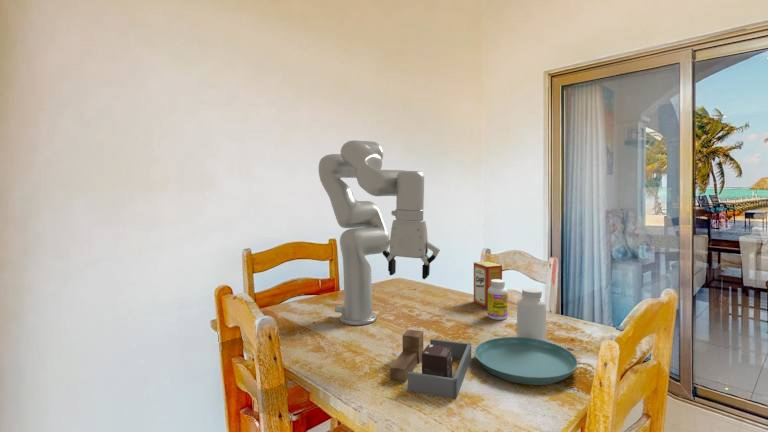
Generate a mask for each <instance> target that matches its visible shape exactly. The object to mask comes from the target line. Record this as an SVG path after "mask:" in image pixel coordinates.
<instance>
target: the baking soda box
mask: <svg viewBox="0 0 768 432" xmlns="http://www.w3.org/2000/svg"><path fill="white" fill-rule="evenodd" d="M493 279H501V280H503V265H502V264H498V263H495V262H491V261H476V262H473V303H475V304H477V305H479V306H481V307H483V308H485V309H488V289H489V288H490V287H491V286H492V285H491V280H493Z"/></svg>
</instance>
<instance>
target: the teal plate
mask: <svg viewBox="0 0 768 432" xmlns="http://www.w3.org/2000/svg"><path fill="white" fill-rule="evenodd" d="M474 355H475V357H476V359H477V361H478V363H479V364H480V365H481V366H482V367H483V368H484V369H485V370H486V371H487V372H489V373H491V375H493V376H496V377H497V378H499V379H502V380H504V381H508V382H512V383H515V384H516V383H517V384H523V385H532V386H543V385H550V384H551V385H552V384H555V383H557V382H561V381H563V380H565V379H567V378H568V377H569V376H571V375H573V373H574V372H575V370H576V368H577V367H578V363H579V362H578V358H577V356H575V354H574V353H573V352H571V351H570V350H569V349H567V348H565V347H564V346H563V347H562V346H561V345H558V344H556V343H552V342H550V341H547V340H546V341H543V340H538V339H532V338H523V337H517V336H507V337H506V336H505V337H497V338H492V339H488V340H485V341H483V342H480V343H479V344H478V345H477V346H476V347H475V350H474Z"/></svg>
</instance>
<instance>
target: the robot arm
mask: <svg viewBox="0 0 768 432" xmlns="http://www.w3.org/2000/svg"><path fill="white" fill-rule="evenodd" d="M383 159H384V151H383V147H382V146H381V145H380V144H379V143H377V141H376V142H375V141H371V140H348V141H347V142H345V143H344V144H343V145H342V146H341V147H340V153H331V154H326V155H324V156H323V157H322V158H320V160H319V163H318V176H319V180H320V183H321V185H322V186H323V188H324V190H325V192H326V194H327V196H328V197H329V201H330V204H331V207H332V210H333V213H334V216H335V219H336V222H337V224H338V226H339V227H341V228H342V229H346V230H344V231H343V232H342V233H341V234H340V236H339V237H340V238H339V245H340V250H341V256H342V267H343V269H342V270H343V297H344V299H343V301H344V303H343V304H344V305H340V304H338V305H337V304H336V305H335V306H334V312H335V313H340V314H341V315H340V317H339V320H340V322H341V323H343V324H346V325H350V326H361V325H363V326H364V325H369V324H372V323H374V322H376V320H377V319H378V317H377V315H378V314H376V313H374V312H373V301H372V300H373V297H372V296H373V294H372V293H373V291H372V289H373V288H372V283H373V281H372V267H371V264H370V262H368V260H367V259H366V256H369V255H377V254H382V255H383V256H384V258H385V259H386V261H387V263H388V266H387V268H388V269H387V270H388V273H389V274H388V275H389V276H393V275H395V274H396V269H397V268H396V266H397V265H396V264H397V263H396V262H397V260H396V259H395V258H396V257H398V258H399V257H402V258H410V259H411V258H412V259H420V260H421V261H422V262H423V264H422V266H421V267H422V272H421V273H422V275H421V277H422V280H426V279H427V278H428V277H429V276H430V270H431V269H430V268H431V265H430V264H431V263H432V262H433V261H435V260H436V259H437V257H438V255H439V253H440V251H441V249H440V248H439V247H437V246H435V245H434V244H432V243H430V242H429V240H428V229H427V228H428V227H427V224H426V223H427V222H426V220H424V206H425V205H424V201H425V200H424V199H425V198H424V197H425V174H424V173H423V172H422V171H418V170H403V169H382V167H383ZM343 178H344V179H345V178H346V179H349V178H351V179H353V178H354V179H356V181H357V184H358V186H359V187H360V188H361V189H362V190H364V192H366V193H367V194H369V195H371V196H373V197H390V196H391V197H396V198H395V199H396V204H395V205H396V209H395V210H391V216H394V217H395V219H393V221H392V224H391V228H390V229H391V231H390V235H389V232H388V229H387V226H386V224H385V221H384V218H383V216H382V213H381V211H380V209H379V207H378V205H377V204H376V203H374V202H373V201H370V200H357V199H356V198H355V196H354V192H353V190H352V189H351V187H350V185H348V184H347V183H346V182H345V181H344V180H342V179H343ZM429 250H430V251H432V254H431V256H429V255H428V251H429Z"/></svg>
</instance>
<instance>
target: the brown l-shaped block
mask: <svg viewBox="0 0 768 432" xmlns="http://www.w3.org/2000/svg"><path fill="white" fill-rule="evenodd" d="M401 337H402V338H401V339H402V352H400V354H399V356H397V358H396V359H395V361H394V362H393V363H392V364H391V365H390V368H389V369H390V370H389V372H390V373H389V374H390V376H389V377H390V380H389V381H392V382H399V383H404V384H405V383H406V382H408V372H414V370H415V369H416V367H417V365H419V364H420V363H422V353H423V351H424V331H422V330H413V329H406V331H405V332H404V333H403V334H402V336H401Z"/></svg>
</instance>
